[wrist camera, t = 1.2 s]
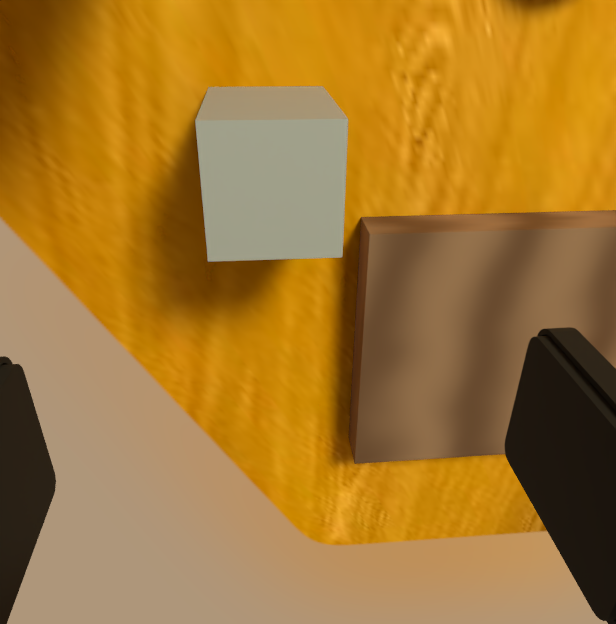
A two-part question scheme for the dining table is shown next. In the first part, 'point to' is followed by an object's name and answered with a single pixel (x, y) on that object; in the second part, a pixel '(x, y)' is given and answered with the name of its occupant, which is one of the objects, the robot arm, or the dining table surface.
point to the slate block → (272, 173)
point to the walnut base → (467, 322)
